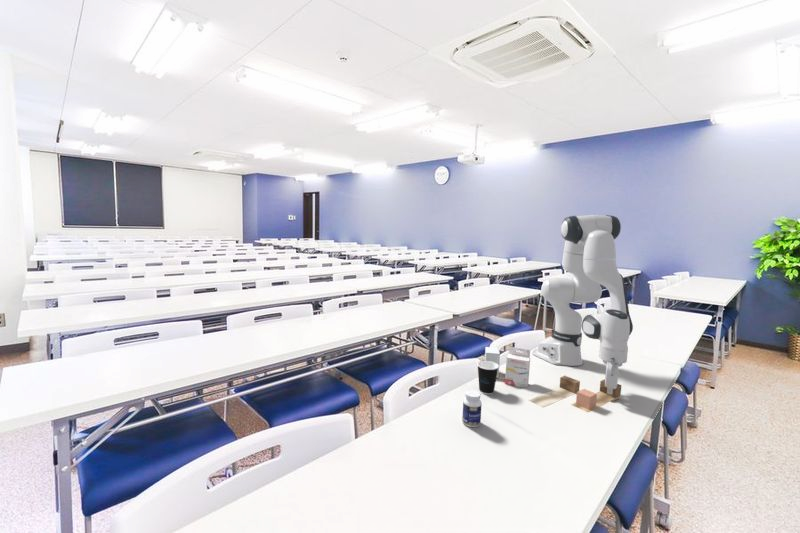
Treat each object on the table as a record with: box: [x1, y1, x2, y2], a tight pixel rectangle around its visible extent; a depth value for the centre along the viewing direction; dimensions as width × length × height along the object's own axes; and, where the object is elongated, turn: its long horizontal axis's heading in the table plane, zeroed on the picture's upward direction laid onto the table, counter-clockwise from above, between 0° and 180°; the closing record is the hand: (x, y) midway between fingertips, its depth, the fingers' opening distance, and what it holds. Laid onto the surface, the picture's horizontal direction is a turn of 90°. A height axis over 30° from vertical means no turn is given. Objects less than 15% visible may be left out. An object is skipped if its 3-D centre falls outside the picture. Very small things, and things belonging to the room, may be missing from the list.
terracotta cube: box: [575, 388, 597, 410], centre depth 125 cm, size 4×4×4 cm
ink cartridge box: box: [504, 346, 531, 389], centre depth 142 cm, size 9×5×15 cm, turn 65°
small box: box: [484, 346, 501, 379], centre depth 153 cm, size 8×6×10 cm
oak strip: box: [570, 379, 622, 413], centre depth 129 cm, size 6×22×5 cm, turn 124°
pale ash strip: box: [528, 375, 581, 408], centre depth 131 cm, size 6×22×5 cm, turn 124°
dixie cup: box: [476, 360, 500, 395], centre depth 136 cm, size 8×8×11 cm
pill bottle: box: [461, 389, 482, 428], centre depth 115 cm, size 6×6×10 cm
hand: (609, 390), depth 134 cm, fingers closed on oak strip, 4 cm apart
